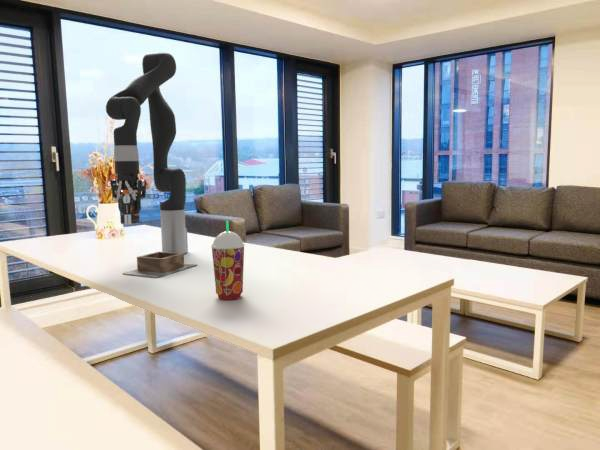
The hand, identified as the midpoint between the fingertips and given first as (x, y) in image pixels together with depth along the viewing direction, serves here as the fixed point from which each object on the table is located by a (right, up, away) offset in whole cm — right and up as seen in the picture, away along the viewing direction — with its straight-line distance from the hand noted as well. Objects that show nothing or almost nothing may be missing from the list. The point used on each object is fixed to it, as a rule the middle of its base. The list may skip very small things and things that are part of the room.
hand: (129, 211), depth 160 cm
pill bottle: (0, -4, 0) cm, 4 cm away
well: (+10, -19, 0) cm, 22 cm away
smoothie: (+38, -23, -35) cm, 57 cm away
